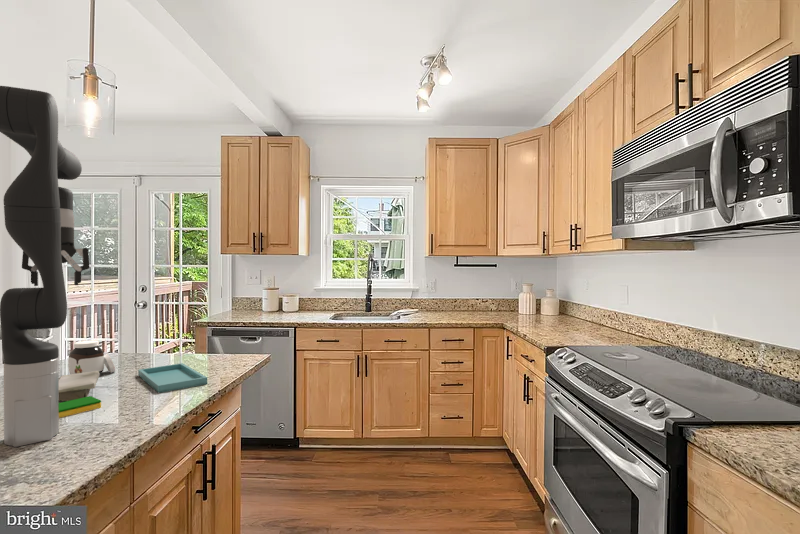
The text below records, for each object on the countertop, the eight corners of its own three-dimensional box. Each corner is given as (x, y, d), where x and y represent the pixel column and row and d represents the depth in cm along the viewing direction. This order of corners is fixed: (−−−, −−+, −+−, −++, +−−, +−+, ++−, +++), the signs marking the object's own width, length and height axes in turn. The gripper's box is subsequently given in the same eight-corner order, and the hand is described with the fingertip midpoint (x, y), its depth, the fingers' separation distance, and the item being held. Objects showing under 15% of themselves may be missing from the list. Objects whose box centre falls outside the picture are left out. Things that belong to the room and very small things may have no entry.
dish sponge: (101, 409, 114) (101, 400, 114) (35, 425, 102) (35, 415, 102) (90, 404, 118) (90, 395, 118) (26, 419, 106) (26, 409, 106)
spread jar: (64, 377, 143) (64, 343, 143) (96, 369, 154) (96, 337, 154) (90, 380, 140) (90, 345, 139) (122, 372, 150) (122, 339, 150)
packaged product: (100, 384, 135) (60, 390, 130) (100, 369, 135) (60, 374, 130) (95, 399, 119) (50, 407, 114) (94, 382, 119) (49, 389, 114)
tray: (207, 384, 136) (207, 377, 136) (158, 393, 126) (158, 385, 126) (182, 369, 155) (182, 363, 155) (138, 376, 145) (138, 369, 145)
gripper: (22, 223, 108) (21, 286, 108) (90, 226, 118) (90, 285, 118) (21, 225, 114) (21, 285, 114) (87, 228, 123) (87, 284, 123)
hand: (56, 285), depth 116 cm, fingers open, 8 cm apart
